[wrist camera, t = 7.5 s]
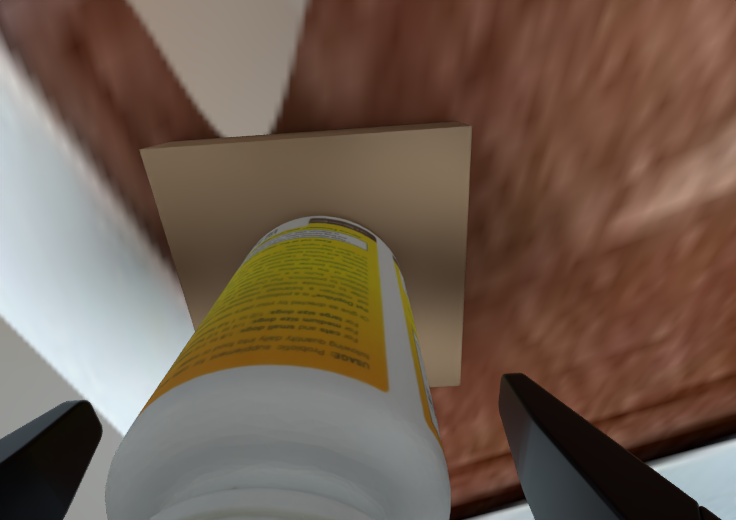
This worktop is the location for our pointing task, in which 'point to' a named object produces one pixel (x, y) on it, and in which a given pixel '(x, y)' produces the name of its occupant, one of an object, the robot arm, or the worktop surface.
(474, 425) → the worktop surface
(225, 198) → the beige square slab
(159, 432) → the supplement bottle
